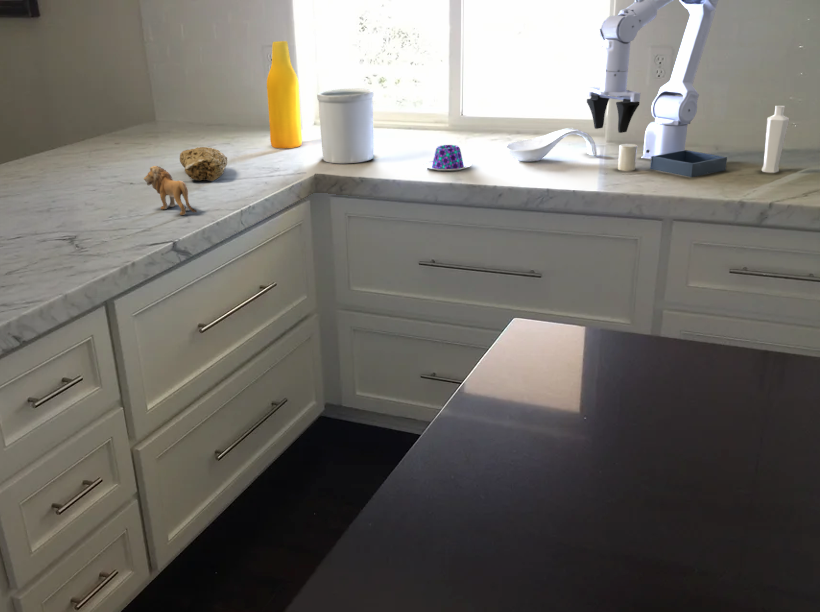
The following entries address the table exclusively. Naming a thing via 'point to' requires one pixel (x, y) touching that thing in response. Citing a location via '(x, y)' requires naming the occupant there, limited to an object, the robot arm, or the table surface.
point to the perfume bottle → (774, 139)
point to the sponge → (203, 163)
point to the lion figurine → (168, 188)
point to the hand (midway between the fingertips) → (610, 130)
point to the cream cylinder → (627, 157)
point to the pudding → (447, 159)
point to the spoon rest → (545, 145)
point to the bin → (688, 163)
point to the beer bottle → (283, 99)
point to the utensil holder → (346, 125)
